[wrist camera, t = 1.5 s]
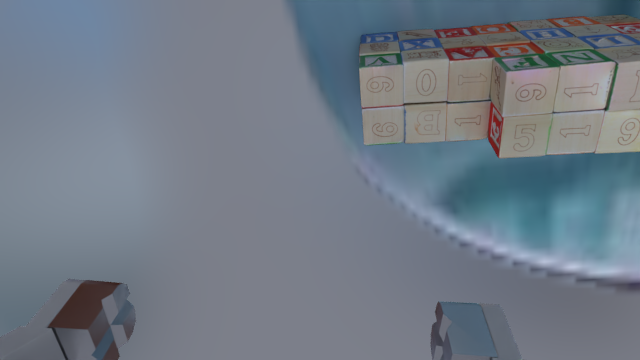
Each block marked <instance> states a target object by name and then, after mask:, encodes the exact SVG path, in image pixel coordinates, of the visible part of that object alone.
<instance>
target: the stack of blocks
mask: <svg viewBox="0 0 640 360" xmlns="http://www.w3.org/2000/svg"><path fill="white" fill-rule="evenodd" d="M359 75H360V92H361V107H362V118H363V135H364V145H380V144H396V143H403V142H404V143H426V142H443V141H465V140H479V139H484V138H487V137H488V140H489V142H490V144H491V145H492V147H493V149H494V151H495V153H496V154H497V156H498V157H499V158H515V157H533V156H544V155H559V154H573V153H591V152H594V153H619V152H640V19H637V18H634V17H631V16H628V15H611V16H597V17H584V16H583V17H569V18H556V19H546V20H528V21H516V22H509V23H507V24H496V25H483V26H472V27H469V28H453V29H442V30H433V29H423V30H410V31H399V32H390V33H378V34H366V35H362V36H361V42H360V49H359Z"/></svg>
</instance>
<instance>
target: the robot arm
mask: <svg viewBox="0 0 640 360" xmlns="http://www.w3.org/2000/svg"><path fill="white" fill-rule="evenodd" d="M129 294H130V292H129V289H128V286H127V284H124V283H116V282H104V281H93V280H78V279H68V280H66V281H64V282H62V284H61V285H60V286H59V287H58V289H56V291H55V292H54V293H53V294H52V296H51V297H50V298H49V299H48V300H47V302H46V303H45V304H44V305H43V306H42V307H41V309H40V310H39V311H38V312H37V313H36V315H35V316H34V317H33V318H32V319H31V321H30V322H29V323H28V324H27V325H26V327H25V326H24V327H23V326H19V327H18V328H16V329H14V330H12V331H10V332H9V333H7V334H5V335H3V336H1V337H0V360H118V359H119V357H120V356H119V351H118V348H120V347H121V346H122V345H124V344H125V343H126V342H128V340H129V339H130V337H131V335H132V333H133V330H134V326H135V322H136V314H135V309H134V306H133V305H132V304H131V303H130V302H129V301H128V300H127V298H128V296H129ZM435 315H436V320H437V321H436V322H435V323H434V324H433V325H432V331H431V354H432V360H522V357H521V355H520V352H519V350H518V347H517V344H516V342H515V339H514V337H513V334H512V332H511V329H510V327H509V324H508V321H507V319H506V316H505V314H504V311H503V309H502V307H501V306H500V305H499V304H477V303H458V302H457V303H456V302H438V303H437V306H436V310H435Z"/></svg>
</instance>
